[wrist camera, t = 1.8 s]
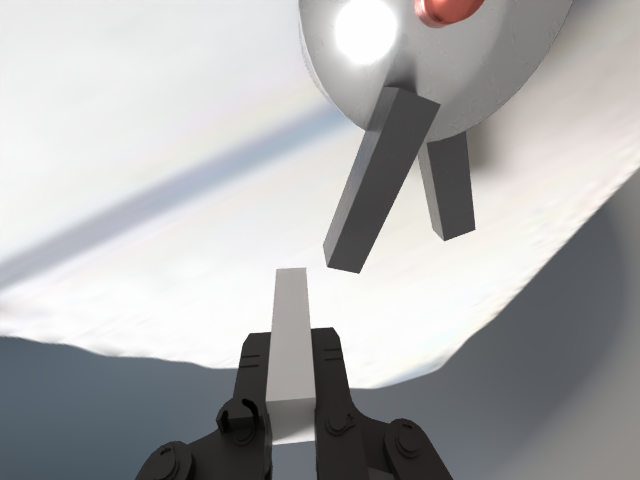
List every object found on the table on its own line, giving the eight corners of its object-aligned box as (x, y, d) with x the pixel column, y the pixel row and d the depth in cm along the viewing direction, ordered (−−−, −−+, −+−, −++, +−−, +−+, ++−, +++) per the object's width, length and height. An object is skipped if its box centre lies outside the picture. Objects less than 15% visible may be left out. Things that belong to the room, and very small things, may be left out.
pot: (241, -112, 19) (200, -267, 11) (445, -235, 17) (596, -547, 9) (362, 220, 34) (386, 267, 26) (478, 174, 32) (546, 207, 24)
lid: (360, -359, 10) (397, -597, 6) (643, -132, 13) (764, -204, 10) (245, 221, 21) (236, 248, 18) (413, 260, 25) (432, 288, 22)
